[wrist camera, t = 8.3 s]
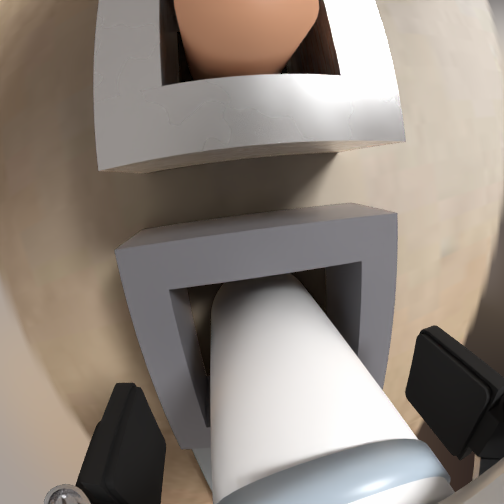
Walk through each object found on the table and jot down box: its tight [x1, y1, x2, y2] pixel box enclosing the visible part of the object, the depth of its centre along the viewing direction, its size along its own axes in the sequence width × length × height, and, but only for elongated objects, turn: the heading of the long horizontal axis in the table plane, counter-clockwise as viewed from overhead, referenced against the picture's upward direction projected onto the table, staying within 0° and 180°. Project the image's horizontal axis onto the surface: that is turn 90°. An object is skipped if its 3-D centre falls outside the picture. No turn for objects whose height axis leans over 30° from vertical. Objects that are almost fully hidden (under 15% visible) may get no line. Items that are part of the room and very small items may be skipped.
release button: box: [174, 0, 319, 81], centre depth 8 cm, size 4×4×5 cm
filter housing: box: [115, 203, 398, 449], centre depth 13 cm, size 10×10×4 cm
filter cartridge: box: [210, 273, 455, 504], centre depth 9 cm, size 5×5×12 cm
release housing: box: [93, 0, 406, 173], centre depth 9 cm, size 9×9×6 cm
